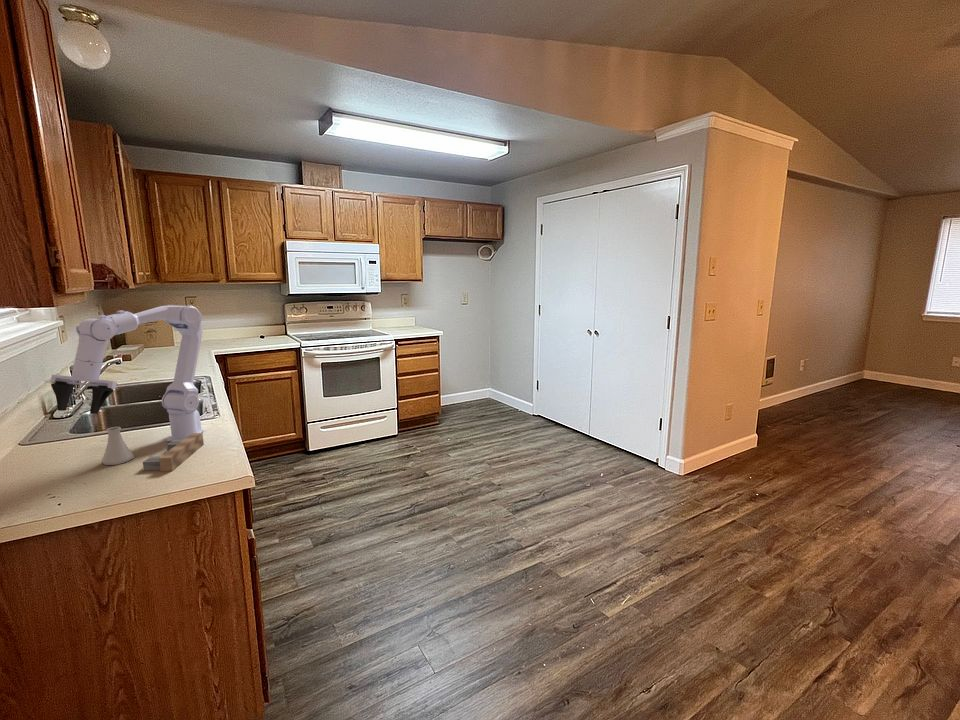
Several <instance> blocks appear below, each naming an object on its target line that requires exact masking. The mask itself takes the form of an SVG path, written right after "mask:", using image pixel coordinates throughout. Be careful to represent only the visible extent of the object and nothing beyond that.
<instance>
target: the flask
mask: <svg viewBox="0 0 960 720" xmlns="http://www.w3.org/2000/svg"><path fill="white" fill-rule="evenodd" d="M105 430H106V432H107V436H108V437H107V443H106V447H105V450H104V454H103V456H102V460H101V463H102V464H103V465H104V466H117V465H120V464H124V463H127V462H130V461H131V460H133V459H135V456H134V454H133V453H132V451H131V449H129V447H128V446H127V444H126V442H125V441H124V439H123V437H122V435H121V430H122V428H121V426H112V427H109V428H106V429H105Z"/></svg>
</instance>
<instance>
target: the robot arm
mask: <svg viewBox="0 0 960 720" xmlns="http://www.w3.org/2000/svg"><path fill="white" fill-rule="evenodd" d="M202 319H203V314H202V313H201V312H200V311H199V309H198V308H197V307H195V306H193V305H176V304H167V305H161V306H156V307H153V308H150V309H147V310H146V309H145V310H143V311H139V312H136V313H133V312H131V311H125V310H116V313H114V314H109V315H105V314H101V315H99V316H98V318H87V319H86V318H85V319H83V320H82V321H81V322H80V323H79V324H78V325H77V326H76V327H75V332H76V333H77V335H78V340H77V341H78V344H77V348H76V353H75V358H74V362H73V367H72V371H71V376H68V375H61V374H51V378H50V380H49V381H50V383H51V385H50V386H51V389H52V390H53V393H54V396H55V399H56V408H57V411H62V412H63V411H66V410H67V408H68V404H69V401H70V397H71V394H72V392H73V390H74V388H75V387H76V385H82V386H90V387H91V391H92V392H91V394H92V397H91V398H92V399H91V405H90V410H89V413H90V414H98V413H99V412H100V409H101V408H102V406H103V404H104V403H105V401H106V400H107V399H108V397H109V396H111V394H113V392H114V389H116V388H117V385H118V381H115V380H108V379H107V380H106V379H100V376H101V372H102V366H103V362H104V357H105V353H106V347H107V343H108V341H109V340H111V339H113V337H114V336H117V335H120V334H124V333H125V334H126V333H128V332H132V331H135V330H137V328H138V326H139V325H142V324H145V323H147V324H148V323H150V322H155V321H160V320H161V321H164V322H165V323H166V324H168V325H170V326H171V327H173V328H174V329H176V330H177V331H178V332H179V334H180V335H181V339H180V346H179V349H178V350H179V351H178V354H177V355H178V356H177V362H176V367H175V372H174V378H173V382H171V383H170V384H169V385H168V386H167V387H166V390H165V393H164V394H163V396H162V398H161V405H162V407H163V408H164V409H166V412H167V413H168V418H169V427H170V434H171V436H170V437H168V438H167V439H166V440H165V441H166V442H171V441H173V440H184V439H185V438H186V437H188V436H189V435H190V434H192V433H204V432H205V429H202V426H201V415H200V412H199V411H198V409H197V408H198V406H199V404H200V399H199V389H198V387H196V386H195V385H194V381H195V375H196V371H197V364H198V359H199V353H200V348H201V342H202V338H203V329H202V324H201V323H202ZM79 381H81V382H79ZM85 382H87V383H85Z"/></svg>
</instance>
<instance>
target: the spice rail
mask: <svg viewBox="0 0 960 720" xmlns="http://www.w3.org/2000/svg"><path fill="white" fill-rule="evenodd" d="M203 433H204V432H202V433H192V434H190V435H189V436H188V437H186V438H185V439H184V440H173V441H169V443H167V444H166V450H167V452H165V453H164V454H163V455H153V456H148V458H146V459H145V460H143V461H142V466H143V467H142V468H143V471H144V472H145V471H160V472H163V473H164V472H173V471H175V470H176V469H177V468H178V467H179V466H180V465H182V464H183V463H184V462H185V461H186V460H188V459H189V458H190V457H191V456H192V455H193V454H195V453H196V452H197V451H198V450H199V449H200V448H202V447H203V445H204V444H205V443H204V435H203Z"/></svg>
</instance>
